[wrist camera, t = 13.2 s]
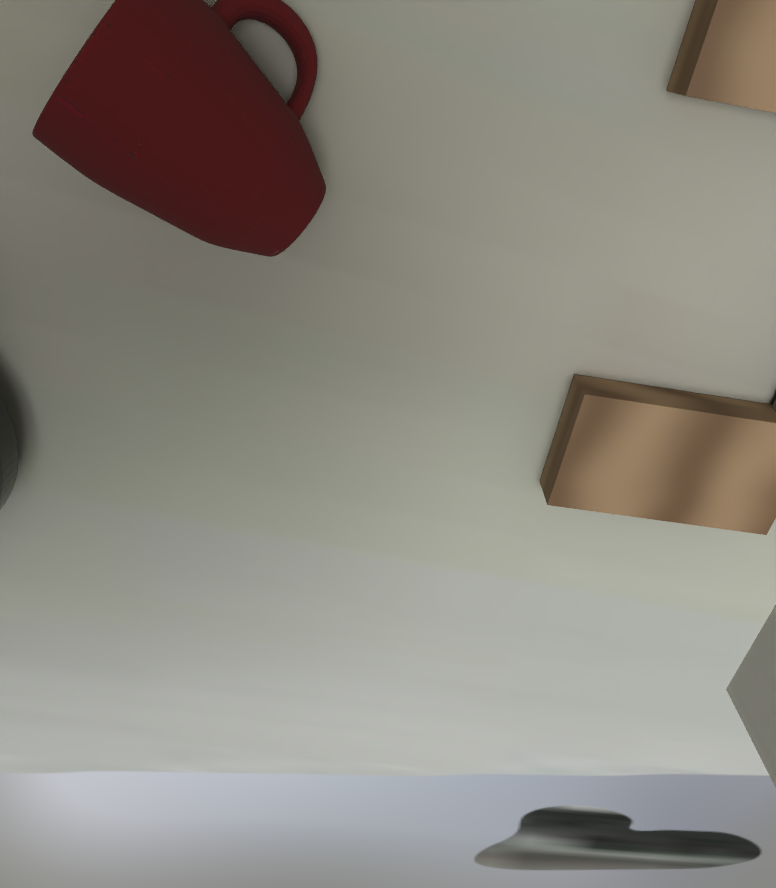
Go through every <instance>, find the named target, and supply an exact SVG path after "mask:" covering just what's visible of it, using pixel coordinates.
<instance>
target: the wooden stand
mask: <svg viewBox="0 0 776 888" xmlns="http://www.w3.org/2000/svg"><path fill="white" fill-rule="evenodd" d="M667 91H669V92H673V93H677V94H681V95H685V96H689V97H695V98H700V99H705V100H711V101H716V102H721V103H727V104H732V105H737V106H742V107H748V108H753V109H758V110H764V111H769V112H774V113H776V0H696V2H695V5H694V8H693V11H692V14H691V17H690V20H689V23H688V26H687V29H686V32H685V35H684V39H683V42H682V45H681V48H680V51H679V54H678V57H677V60H676V63H675V66H674V69H673V72H672V75H671V79H670V82H669V85H668V88H667ZM540 483H541V487H542V490H543V493H544V496H545V499H546V502H547V505H552V506H560V507H567V508H574V509H581V510H589V511H596V512H603V513H611V514H618V515H625V516H632V517H640V518H647V519H654V520H662V521H669V522H676V523H683V524H691V525H698V526H705V527H713V528H720V529H727V530H734V531H742V532H749V533H756V534H764V535H767V533H768V531H769V529H770V527H771V525H772V524H773V522H774V520H775V518H776V399H775V401H774V403H773V405H771V404H764V403H758V402H751V401H745V400H738V399H732V398H725V397H719V396H712V395H705V394H699V393H692V392H686V391H679V390H673V389H666V388H660V387H653V386H647V385H640V384H634V383H627V382H621V381H614V380H607V379H601V378H594V377H588V376H581V375H575V374H574V377H573V380H572V383H571V386H570V390H569V393H568V396H567V399H566V402H565V405H564V408H563V411H562V414H561V417H560V420H559V423H558V426H557V430H556V433H555V436H554V439H553V442H552V445H551V448H550V451H549V454H548V457H547V460H546V463H545V466H544V470H543V473H542V476H541V479H540Z"/></svg>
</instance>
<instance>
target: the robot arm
mask: <svg viewBox="0 0 776 888" xmlns="http://www.w3.org/2000/svg"><path fill="white" fill-rule="evenodd" d="M17 469H18V447H17V441H16V436H15V432H14V428H13V425H12V422H11V419H10V417H9V415H8V412H7V410H6V408H5V406H4V404H3V402H2V400H1V398H0V509H1V508H2V506H3V505H4V504H5V502H6V501H7V499H8V497H9V496H10V493H11V491H12V489H13V486H14V483H15V480H16V476H17ZM726 690H727V692H728V694H729V696H730V698H731V700H732V702H733V704H734V706H735V708H736V710H737V712H738V714H739V716H740V717H741V719H742V721H743V723H744V725H745V727H746V729H747V731H748V733H749V735H750V737H751V739H752V741H753V743H754V745H755V747H756V749H757V751H758V753H759V755H760V757H761V759H762V761H763V763H764V765H765V767H766V769H767V771H768V773H769V775H770V777H771V779H772V781H773V783H774V785H775V787H776V605H775V607H774V609H773V610H772V612H771V614H770V615H769V617H768V619H767V621H766V622H765V624H764V626H763V627H762V629H761V631H760V632H759V634H758V636H757V638H756V639H755V641H754V643H753V644H752V646H751V648H750V650H749V651H748V653H747V655H746V656H745V658H744V660H743V662H742V663H741V665H740V667H739V668H738V670H737V672H736V674H735V675H734V677H733V679H732V680H731V682H730V684H729V686H728V687H727V689H726Z"/></svg>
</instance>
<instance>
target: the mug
mask: <svg viewBox="0 0 776 888" xmlns="http://www.w3.org/2000/svg"><path fill="white" fill-rule="evenodd" d="M243 19H253V20H257V21H261V22H263V23H265V24H267V25H269V26H270V27H272V28H273V29H275V30H276V31H277V32H278V33H279V34H280V35H281V36H282V37H283V38H284V39H285V41H286V42H287V43H288V45H289V47H290V48H291V50H292V52H293V54H294V57H295V60H296V64H297V82H296V86H295V89H294V91H293V94H292V96H291V98H290V100H289V101H288V103H287V104H286V103H285V101H284V100H283V99H282V98H281V96H280V95H279V94H278V92H277V91H276V90H275V89H274V87H273V86H272V85H271V83H270V82H269V81H268V80H267V78H266V77H265V76H264V74H263V73H262V72H261V71H260V69H259V68H258V67H257V66H256V64H255V63H254V62H253V60H252V59H251V58H250V56H249V55H248V54H247V52H246V51H245V50H244V48H243V47H242V46H241V45H240V43H239V42H238V41H237V39H236V38H235V37H234V35H233V34H232V33H231V31H230V29H231V28H232V27H233V26H234V25H235V24H236V23H237V22H238V21H240V20H243ZM316 75H317V54H316V49H315V45H314V42H313V39H312V37H311V35H310V33H309V31H308V29H307V27H306V26H305V24H304V23H303V21H302V20H301V19H300V17H299V16H298V15H297V14H296V13H295V12H294V11H293V10H292V9H291V8H290V7H289V6H288V5H286V4H285V3H284V2H282V1H281V0H218V1H217V2H216V3H215V4H214V5H213V6H212V8H210V7H209V6H208V5H207V4H206V3H205V2H204V1H203V0H115V2H114V3H113V4H112V6H111V7H110V9H109V10H108V11H107V13H106V14H105V15H104V17H103V18H102V20H101V21H100V23H99V24H98V25H97V27H96V28H95V30H94V31H93V32H92V34H91V35H90V37H89V38H88V40H87V41H86V43H85V44H84V46H83V47H82V49H81V50H80V51H79V53H78V55H77V56H76V58H75V59H74V61H73V62H72V64H71V65H70V67H69V68H68V70H67V71H66V73H65V74H64V76H63V78H62V79H61V81H60V82H59V84H58V86H57V87H56V89H55V90H54V92H53V94H52V95H51V97H50V99H49V101H48V102H47V104H46V106H45V107H44V109H43V111H42V113H41V115H40V116H39V118H38V120H37V122H36V125H35V127H34V129H33V136H34V137H35V138H36V139H37V140H39V141H40V142H41V143H43V144H44V145H45V146H46V147H48V148H49V149H50V150H51V151H53V152H54V153H55V154H57V155H58V156H59V157H60V158H62V159H63V160H64V161H66V162H67V163H68V164H70V165H71V166H72V167H74V168H75V169H76V170H78V171H79V172H80V173H82V174H83V175H85V176H86V177H88V178H89V179H91V180H92V181H93V182H95V183H97V184H98V185H100V186H102V187H103V188H105V189H107V190H109V191H110V192H112V193H114V194H116V195H118V196H120V197H122V198H123V199H125V200H127V201H129V202H131V203H133V204H135V205H136V206H138V207H140V208H142V209H144V210H146V211H148V212H150V213H151V214H153V215H155V216H157V217H159V218H161V219H163V220H164V221H166V222H168V223H170V224H172V225H174V226H176V227H178V228H179V229H181V230H183V231H185V232H187V233H189V234H191V235H192V236H194V237H196V238H199V239H201V240H203V241H205V242H208V243H210V244H213V245H217V246H220V247H225V248H229V249H233V250H238V251H243V252H248V253H253V254H258V255H264V256H270V257H271V256H276V255H278V254H280V253H281V252H283V251H284V250H285V249H286V248H288V247H289V246H290V245H291V244H292V243H293V242H294V241H295V240H296V239H297V238H298V236H299V235H300V234H301V233H302V232H303V230H304V229H305V228H306V227H307V225H308V224H309V223H310V221H311V220H312V218H313V217H314V215H315V214H316V212H317V210H318V209H319V207H320V205H321V203H322V201H323V198H324V195H325V191H326V185H325V182H324V179H323V177H322V174H321V172H320V169H319V166H318V164H317V161H316V159H315V156H314V154H313V151H312V149H311V146H310V144H309V142H308V139H307V137H306V135H305V132H304V130H303V128H302V126H301V124H300V122H299V120H300V118H301V116H302V114H303V113H304V111H305V109H306V106H307V104H308V102H309V100H310V97H311V95H312V92H313V89H314V85H315V80H316Z"/></svg>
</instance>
